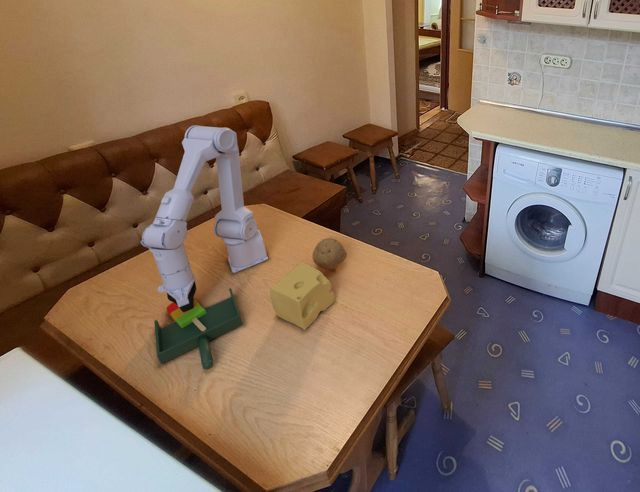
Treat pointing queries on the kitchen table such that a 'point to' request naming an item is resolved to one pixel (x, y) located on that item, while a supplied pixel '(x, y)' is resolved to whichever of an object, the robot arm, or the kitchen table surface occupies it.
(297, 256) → the kitchen table surface
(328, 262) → the natural sponge
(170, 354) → the dustpan
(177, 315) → the popsicle
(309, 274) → the cheese
